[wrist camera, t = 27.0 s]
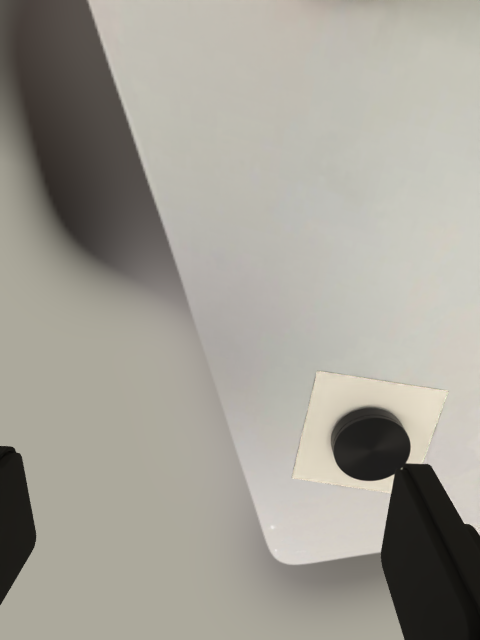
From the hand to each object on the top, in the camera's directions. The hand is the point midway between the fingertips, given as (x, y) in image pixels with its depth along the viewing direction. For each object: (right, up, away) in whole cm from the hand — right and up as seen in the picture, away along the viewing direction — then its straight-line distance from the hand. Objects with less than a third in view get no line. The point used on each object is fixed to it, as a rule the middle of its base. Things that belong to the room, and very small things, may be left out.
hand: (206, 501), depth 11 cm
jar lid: (+13, -7, +28) cm, 32 cm away
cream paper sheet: (+13, -6, +30) cm, 33 cm away
